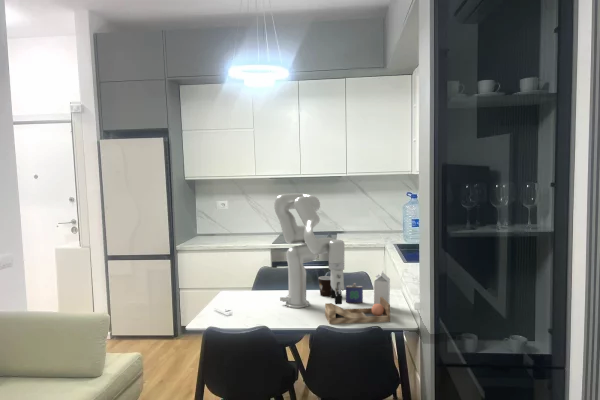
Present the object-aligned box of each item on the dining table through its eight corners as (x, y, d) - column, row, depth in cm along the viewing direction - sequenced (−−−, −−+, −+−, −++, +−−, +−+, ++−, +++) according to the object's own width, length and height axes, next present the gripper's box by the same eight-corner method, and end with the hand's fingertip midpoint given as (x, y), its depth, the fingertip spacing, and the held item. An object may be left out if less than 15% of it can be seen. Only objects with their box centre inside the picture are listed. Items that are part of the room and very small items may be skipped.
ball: (376, 320, 199) (387, 314, 199) (371, 309, 198) (382, 303, 199) (373, 315, 205) (383, 310, 205) (368, 305, 204) (378, 299, 205)
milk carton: (389, 306, 218) (390, 271, 216) (387, 311, 211) (388, 274, 210) (376, 305, 220) (376, 270, 219) (373, 309, 213) (374, 273, 212)
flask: (362, 301, 226) (362, 282, 226) (363, 303, 223) (363, 284, 223) (345, 301, 227) (345, 282, 226) (345, 303, 224) (345, 283, 223)
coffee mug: (317, 293, 243) (317, 276, 242) (332, 292, 244) (332, 275, 243) (320, 299, 231) (320, 281, 231) (335, 298, 232) (335, 281, 232)
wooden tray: (329, 324, 193) (329, 307, 193) (325, 314, 206) (325, 299, 205) (389, 321, 196) (390, 304, 196) (381, 312, 209) (382, 297, 208)
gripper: (348, 269, 190) (348, 306, 191) (340, 261, 207) (340, 295, 208) (332, 270, 189) (332, 307, 190) (325, 262, 206) (325, 296, 207)
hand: (336, 300), depth 199 cm, fingers open, 9 cm apart
